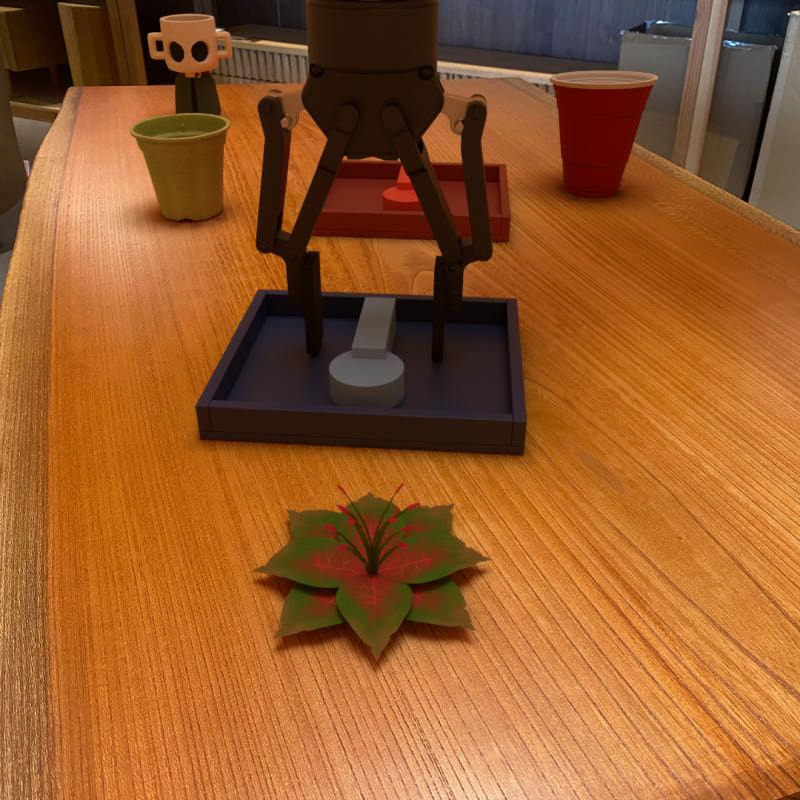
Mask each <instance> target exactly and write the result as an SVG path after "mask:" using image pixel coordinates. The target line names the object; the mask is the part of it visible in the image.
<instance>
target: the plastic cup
mask: <svg viewBox="0 0 800 800" xmlns="http://www.w3.org/2000/svg"><path fill="white" fill-rule="evenodd" d="M658 80H659V76H658V75H657V74H652V73H648V72H640V71H629V70H578V71H569V72H561V73H557V74H552V75H550V77H549V81H550V82H549V83H551V84H552V87H553V90H554V97H555V100H556V108H557V114H558V129H559V132H558V133H559V147H560V158H561V163H562V165H561V166H562V182H563V185H564V190H565V191H567V192H568V193H570V194H573V195H575V196H580V197H584V198H585V197H587V198H605V197H610V196H613V195H615V194H617V193H618V191H619V188H620V186H621V183H622V180H623V176H624V173H625V169H626V166H627V164H628V163H629V159H630V157H631V156H630V155H631V154H632V149H633V146H634V143H635V141H636V136H637V133H638V129H639V127H640V123H641V120H642V117H643V113H644V111H645V109H646V106H647V102H648V101H649V98H650V94H651V92H652V90H653V88H654V85H656V84H657V82H658Z"/></svg>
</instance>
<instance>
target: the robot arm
mask: <svg viewBox="0 0 800 800" xmlns="http://www.w3.org/2000/svg"><path fill="white" fill-rule="evenodd" d="M439 11H440V0H305V18H306V19H305V22H306V23H305V24H306V38H307V39H306V41H307V61H308V72H307V77H306V81H305V83H304V85H303V87H302V88H301V89H295V90H290V91H284V92H282V91H281V90H279V89H277V88H274V89H270V90H269V91H268V92H267V93H266V94H265V95H264V96H263V97H262V98H261V99H260V100H259V101H258V103H257V114H258V116H259V121H260V125H261V128H262V129H261V130H262V133H263V136H264V144H263V153H262V154H263V155H262V166H261V176H260V177H261V178H260V188H259V189H260V190H259V200H258V210H257V211H258V212H257V223H256V233H255V249H256V250H257V251H258V252H259V253H261V254H263V255H268V254H272V255H275V256H277V257H279V258H280V259H282V260H283V261H284V264H285V273H286V284H287V285H286V286H287V290H288V299H289V301H290V303H291V305H301V306H304V319H305V336H306V352H307V354H318V351H319V348H320V345H321V342H322V339H323V336H324V334H323V314H322V294H321V291H322V275H321V256H320V250H308V246H309V244H310V241H311V239H312V236H313V235H312V234H313V231H314V229H315V226H316V224H317V221H318V219H319V216H320V214H321V212H322V209H323V207H324V204H325V202H326V199H327V197H328V194H329V192H330V189H331V187H332V185H333V182H334V180H335V177H336V175H337V172H338V170H339V167H340V165H341V162H342V160H344V158H345V157H346V160H364V159H368V158H369V159H370V158H375V159H378V160H380V161H401V164H402V166H403V168H404V171H405V173H406V175H407V176H408V177H409V179H410V181H411V183H412V186H413V188H414V190H415V193H416V195H417V197H418V200H419V202H420V204H421V207H422V209H423V212H424V214H425V216H426V219H427V221H428V223H429V226H430V228H431V230H432V233H433V235H434V237H435V239H434V240H435V242H436V244H437V247H438V249H439V251H440V254H441V255H435V262H434V269H433V292H432V293H433V294H432V295H433V326H432V359H434V360H442V359H443V348H444V328H445V311H451V312H459V310H460V308H461V306H462V297H464V294H463V293H464V273H465V269H466V268H467V266H468V265H470V264H472V263H475V262H482V263H485V262H489V261H490V260H491V259H492V257H493V254H494V246H493V242H494V241H493V240H492V230H491V221H490V212H489V204H488V195H487V186H486V178H485V169H484V163H485V161H484V151H483V144H482V138H483V134H484V130H485V126H486V123H487V122H486V121H487V118H488V102H487V101H488V100H487V99H486V97H485V96H484V95H483V94H480V93H474V94H472V95H470V96H465V95H460V94H455V93H451V92H446V91H445V88H444V86H443V85H442V82H441V80H440V77H439V73H438V52H439V51H438V50H439V49H438V47H439V18H440V17H439ZM304 110H305V111H306V112H307V113H308V115H309V116H310V117H311V119H312V120H313V121H314V123H315V124H316V126H317V127H318V129H319V130H320V131H321V132H322V134H323V135H324V136H325V138H326V142H325V144H324V147H323V150H322V153H321V155H320V157H319V161H318V163H317V166H316V168H315V170H314V171H315V172H314V174H313V176H312V179H311V182H310V185H309V187H308V189H307V192H306V195H305V196H304V200H303V202H302V204H301V208H300V210H299V213H298V215H297V217H296V220H295V223H294V225H293V228H292V230H291V232H289V231H286V230H283V221H284V211H285V203H286V202H285V201H286V192H287V183H288V175H289V165H290V154H291V147H292V133H293V131H292V130H294V129H295V128H296V126H297V125H298V124H299V122H300V113H301V112H302V111H304ZM441 113H442V114H443V115H445V116H447V118H448V121H449V128H450V130H451V132H452V133H453V134H455V135H458V136H460V158H461V163H462V165H463V173H464V181H465V188H466V196H467V204H468V212H469V220H470V227H471V235H472V236H471V237H468V238H465V239H462V238H461V235H460V233H459V230H458V228H457V225H456V223H455V220H454V218H453V216H452V213H451V211H450V208H449V206H448V203H447V201H446V198H445V196H444V193H443V191H442V189H441V186H440V184H439V181H438V179H437V176H436V174H435V171H434V169H433V166H432V164H431V162H432V161H431V159H430V154H429V151H428V149H427V145H426V144H425V141H424V139H423V136H424V135H425V134H426V133H427V131H428V129H429V128H430V127H431V126H432V124H433V123H434V122H435V121H436V119H437V117H438V116H439V115H440V114H441Z"/></svg>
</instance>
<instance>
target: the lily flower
mask: <svg viewBox="0 0 800 800" xmlns="http://www.w3.org/2000/svg"><path fill="white" fill-rule="evenodd" d="M370 477H371V475H370ZM404 486H405V484H404V482H402V483H400V485H399V486H398V487H397V489H395V493H394V494H393V496H392V497H391V499H390V500H388V499H385V498H382V497H375V494H373V493H372V492H371V491H368V493H366V495H363V496H361V497H359V498H358V500H353V501H352V499H351V497H350V496H349V495H348V494H347V492H346V490H345V489H344V488H343V487H342V486H341V485H340V484H339V483H338V484H337V488H338V489H340V491H341V492H342V494H343V495H344V496H346V497H347V499H348V500H349V503H348V504H347V505H345V506H343V505H342V504H336V505H335V507H338V510H340V511H341V512H337V511H334V510H330V509H305V510H304V509H303V510H301V511H299V512H298V511H297V510H294V509H285V510H286V514H287V515H288V517H287V518H288V522H289V523H290V525H289V531H290V535H291V538H292V541H290V542H288V543H287V544H285V545H284V546H283V547H281V548H280V549H279V550H278V551H277V552H276V553H274V554H273V555H272V556H271V557H269V560H268V561H267V562H266V564H265V565H264V564H262V565H260V566H259V567H257V568H256V569H253V570H251V573H261V574H266V575H275V577H279V578H285V579H289V580H291V581H295V582H296V583H297V584H296V585H294V586H293V588H291V589H290V591H289V592H288V594H287V596H286V597H285V600H284V602H283V606H282V608H281V613H280V618H279V622H280V628H278V629H277V631H276V633H275V635H274V636H273V638H272V640H277V639H279V638H282V637H287V636H290V635H291V636H292V635H295V634H300V633H301V632H303V631H305V632H310V631H314V630H318V629H321V628H327V627H332V626H336V625H339V624H342V623H345V622H347V623H348V624H349V626H350V627H351V629H352V630H353V631H354V633H356V635H357V636H358V638H359V639H360V640H361V641H362V642H363V643H364V644H366V646H368V647H369V648H370V652H371V654H372V656H373V657H374V659H375V662H378V661H379V659H380V657H381V654H382V652H383V651H384V650H385V648H386V646H387V645H388V643H389V642H390V641H391V635H394V634H396V632H397V631H398V630H399V628H400V626H401V625H402V623H403V621H404V620H406V621H411V622H418V623H426V624H431V625H436V626H437V625H438V626H444V627H452V628H454V627H462V629H466V630H469V631H470V630H471V631H474V632H477V629H476V627H475V626H474V625H473V623H472V619H471V616H470V613H469V612H470V611H468V610H466V606H467V603H466V600H465V597H464V595H463V593H462V591H461V589H460V588H459V586H458V585H457V584H456V582H454V581H453V580H452V579H451V578H450V577H448V576H449V575H452V574H453V573H456V572H458V571H459V570H463V569H466V568H470V567H472V566H475V565H477V564H478V563H480V562H481V563H483V562H489V561H492V560H493V559H492V558H490V557H488V556H486V555H483V554H482V553H480V552H479V551H477V550H476V549H475V548H473V547H469V546H467V545H466V542H464V541H463V540H461V539H460V538H458V537H457V536H454V535H453V534H451V530H452V527H453V513H452V512H451V511H453V509H454V506H455V505H456V503H450V504H447V505H446V504H441V505H433V506H431V507H430V506H429V505H420V502H414V503H413V504H412V503H411V504H410V505H408V506H407V507H406V508H404V509H403V510H400V507H398V506H397V505H396V504H395V503H394V502H393V500H394V498H395V496H396V495H397V494H398V493H399V491H400V490H401V489H402V488H403V487H404Z"/></svg>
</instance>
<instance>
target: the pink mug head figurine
mask: <svg viewBox="0 0 800 800" xmlns="http://www.w3.org/2000/svg"><path fill="white" fill-rule="evenodd" d="M159 24H160V32H149V33H147V43H148V44H147V45H148V51H149V56H150V58H151V59H153V60H164V62H165V64H166V66H167V68H168V70H170V71H173V72H177V74H176V76H175V80H174V106H175V107H174V108H175V109H174V110H175V114H184V113H200V114H211V115H216V116H221V114H222V111H223V110H222V106H221V101H220V97H219V93H218V89H217V85H216V81H215V78H214V76H213V75H212V73H211V72H210V71H212V70H214V69H216V68H217V67H219V63H220V59H229V58H232V57H233V53H234V52H233V44H232V35H231V33H230V32H229V31H224V30H223V31H217V29H216V20H215V17H214V16H213V15H209V14H202V13H198V14H197V13H182V14H181V13H179V14H172V15H171V14H170V15H166V16H162V17H160V18H159ZM218 40H223V45H224V50H222V49H221V50H219V49H218V48H219V47H218ZM157 41H162V46H163V50H162V51H158V49H157V44H156V43H157Z"/></svg>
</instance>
